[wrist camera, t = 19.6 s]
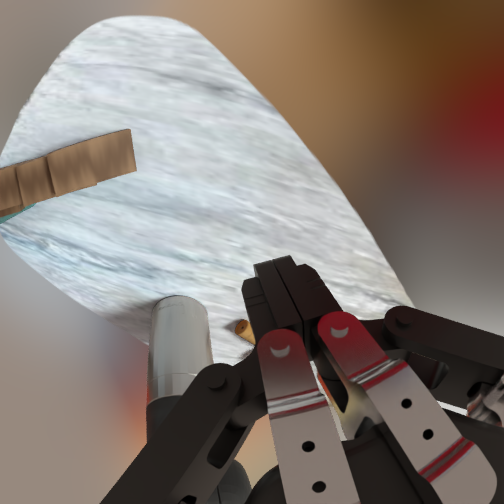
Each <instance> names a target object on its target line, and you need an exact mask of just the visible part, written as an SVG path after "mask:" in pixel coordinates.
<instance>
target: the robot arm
mask: <svg viewBox="0 0 504 504" xmlns="http://www.w3.org/2000/svg"><path fill="white" fill-rule="evenodd" d="M253 266H254V272H255V277H254V278H250V279H246V280H244V282H243V285H242V289H241V291H242V295H243V298H244V302H245V306H246V310H247V314H248V318H249V321H250V325H251V328H252V332H253V335H254V339H255V347H254V349H253V351H252V353H251V354H250V355H249V356H248V357H247V358H246V359H244V360H243V361H241V362H239V363H237V364H236V365H234V366H231V365H229V364H225V363H216V364H214V362H213V355H212V347H211V339H210V330H209V322H208V314H207V311H206V309H205V307H204V306H203V305H202V304H201V303H200V302H198V301H197V300H195V299H192V298H190V297H185V296H172V297H168V298H165V299H163V300H161V301H160V302H158V303H157V304H156V306H155V307H154V309H153V312H152V320H151V330H150V340H149V353H148V370H147V398H146V401H147V402H146V421H147V444H146V445H145V446H144V448H143V449H142V450H141V451H140V453H139V454H138V455H137V457H136V458H135V459H134V461H133V462H132V463H131V465H130V466H129V467H128V468H127V470H126V471H125V472H124V474H123V475H122V476H121V477H120V479H119V480H118V482H117V483H116V484H115V485H114V486H113V488H112V489H111V490H110V491H109V493H108V494H107V495H106V496H105V498H104V499H103V500H102V501H101V503H100V504H504V337H503V336H500V335H496V334H493V333H490V332H487V331H484V330H481V329H477V328H474V327H471V326H468V325H465V324H462V323H458V322H455V321H452V320H449V319H446V318H443V317H439V316H437V315H433V314H430V313H427V312H424V311H421V310H418V309H415V308H412V307H408V306H396V307H393V308H391V309H390V310H388V311H387V313H386V314H385V317H384V319H376V320H358V319H357V318H356V317H355V316H354V315H352V314H350V313H348V312H344V311H343V310H342V308H341V307H340V305H339V304H338V302H337V301H336V300H335V298H334V297H333V295H332V294H331V292H330V291H329V289H328V288H327V286H325V283H324V282H323V280H322V279H321V278H320V276H319V275H318V273H317V272H316V270H315V269H313V268H312V267H310V266H308V265H307V264H302V265H298V266H297V265H296V264H295V262H294V261H293V259H292V257H291V256H290V255H288V256H284V257H280V258H277V259H273V260H269V261H265V262H262V263H258V264H254V265H253ZM418 354H419V355H418ZM421 355H422V356H421ZM424 356H425V357H424ZM427 357H428V358H427ZM430 358H431V359H430ZM433 359H434V360H433ZM436 360H437V361H436ZM310 361H314V363H315V365H316V368H317V378H318V380H319V382H320V384H321V385H322V387H323V389H324V391H325V393H326V394H327V396H328V398H329V400H330V401H331V403H332V405H333V407H334V408H335V410H336V412H337V414H338V416H339V418H340V422H341V427H342V430H343V432H344V435H345V437H346V438H347V440H346V441H341V440H340V437H339V434H338V432H337V428H336V425H335V422H334V419H333V416H332V414H331V410H330V407H329V405H328V402H327V400H326V397H325V396H324V394H321V392H320V390H319V388H318V385H317V382H316V379H315V376H314V373H313V370H312V367H311V364H310ZM436 400H437V401H440V402H444V403H447V404H450V405H453V406H456V407H460V408H463V409H466V410H467V411H468V412H467V414H466V416H465V415H462V414H459V413H456V412H453V411H450V410H448V409H444V408H441V406H440V405H439V404H438V402H437V401H436ZM266 414H269V419H270V425H271V430H272V435H273V440H274V445H275V449H276V455H277V460H278V465H276V466H275V467H274V468H272V469H271V470H269V471H268V472H267V473H266V474H265V475H264V476H263V477H262V478H261V479H260V480H259V481H258V482H257V484H256V485H255V486H254V488H253V489H251V485H250V482H249V479H248V476H247V474H246V472H245V469H244V468H243V466H242V465H241V464H240V463H239V462H237V461H236V460H234V458H235V457H236V455H237V453H238V451H239V450H240V448H241V446H242V445H243V443H244V441H245V440H246V438H247V436H248V434H249V432H250V431H251V429H252V427H253V425H254V423H255V421H256V420H258V419H259V418H261V417H263V416H265V415H266Z"/></svg>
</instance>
